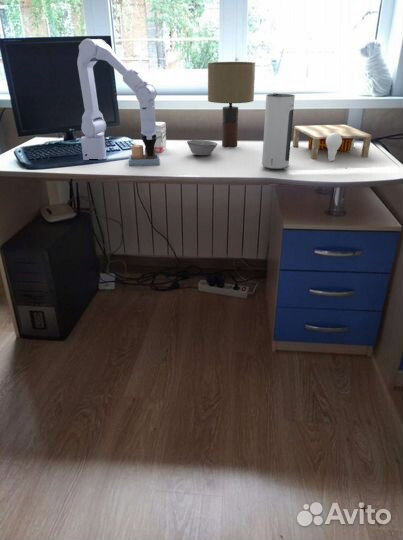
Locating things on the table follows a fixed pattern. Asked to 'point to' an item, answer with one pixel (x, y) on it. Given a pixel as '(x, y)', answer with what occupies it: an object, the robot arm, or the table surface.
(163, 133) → the ink box
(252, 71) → the lamp
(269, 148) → the speaker
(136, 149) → the wooden cylinder
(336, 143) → the lightbulb
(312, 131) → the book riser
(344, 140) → the book
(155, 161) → the tray
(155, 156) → the block
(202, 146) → the bowl
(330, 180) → the table surface
